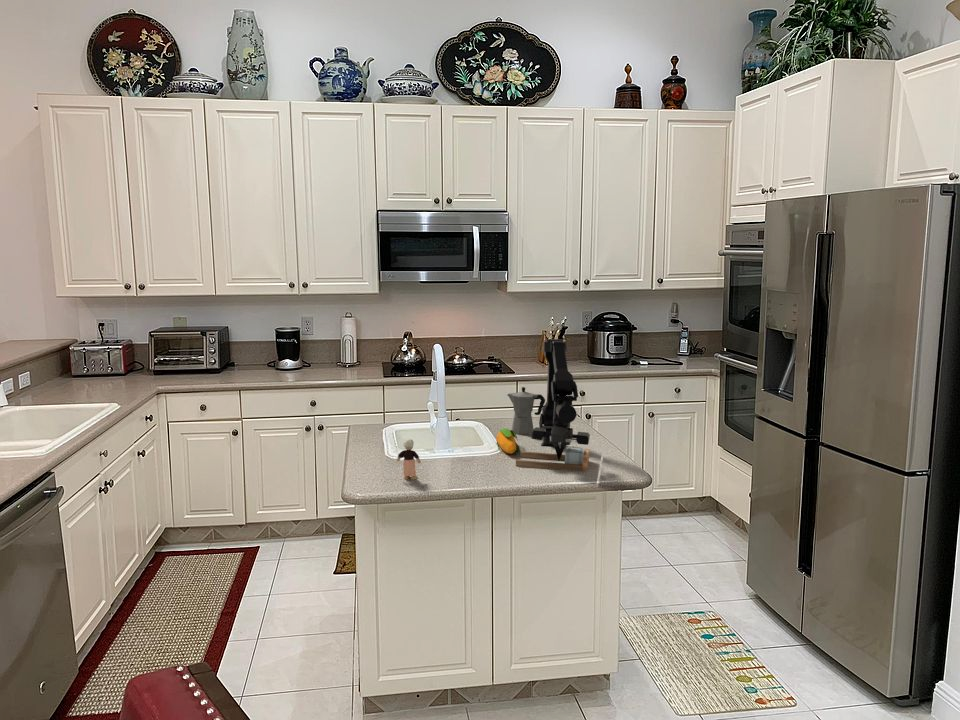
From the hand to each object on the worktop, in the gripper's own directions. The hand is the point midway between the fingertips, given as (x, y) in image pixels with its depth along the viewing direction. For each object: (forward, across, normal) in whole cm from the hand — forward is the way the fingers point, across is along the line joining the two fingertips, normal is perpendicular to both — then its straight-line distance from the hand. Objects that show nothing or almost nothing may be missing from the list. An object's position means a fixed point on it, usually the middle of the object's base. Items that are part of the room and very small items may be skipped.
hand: (559, 460), depth 239 cm
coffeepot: (+3, -18, +41) cm, 45 cm away
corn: (+3, -19, +12) cm, 23 cm away
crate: (+1, +5, 0) cm, 5 cm away
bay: (+2, -3, 0) cm, 3 cm away
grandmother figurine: (+4, -44, -24) cm, 51 cm away
